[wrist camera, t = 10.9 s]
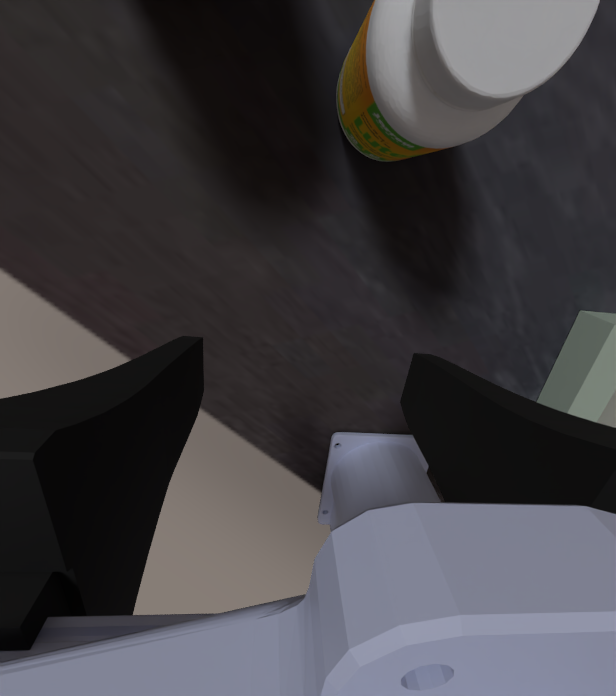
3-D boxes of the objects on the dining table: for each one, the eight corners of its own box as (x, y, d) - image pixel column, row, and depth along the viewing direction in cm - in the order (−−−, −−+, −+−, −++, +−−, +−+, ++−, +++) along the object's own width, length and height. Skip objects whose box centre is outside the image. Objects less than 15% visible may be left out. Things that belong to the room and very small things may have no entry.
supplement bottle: (323, 149, 17) (371, 104, 8) (349, 9, 15) (453, -263, 6) (423, 173, 18) (564, 156, 9) (461, 44, 15) (701, -150, 7)
